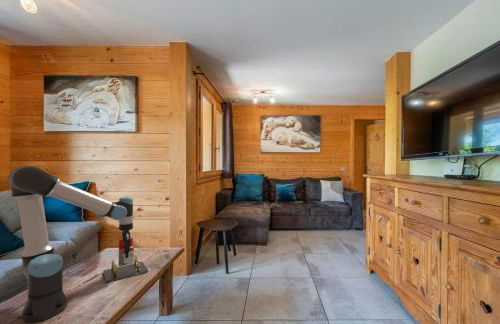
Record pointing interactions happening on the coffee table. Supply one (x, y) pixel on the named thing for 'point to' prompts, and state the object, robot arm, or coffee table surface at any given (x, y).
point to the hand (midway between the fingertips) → (126, 261)
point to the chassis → (124, 271)
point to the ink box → (121, 254)
